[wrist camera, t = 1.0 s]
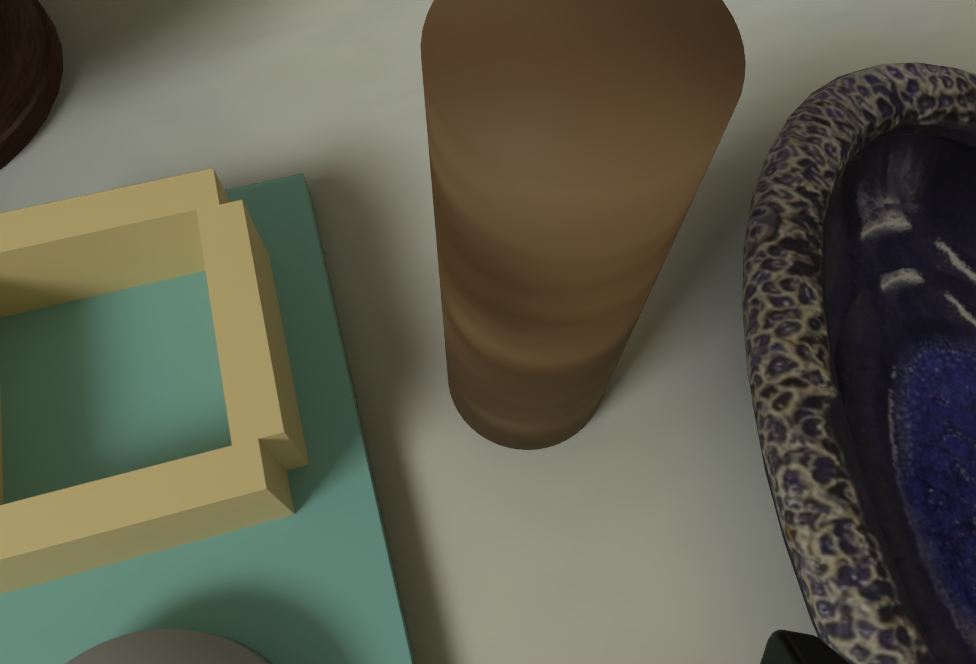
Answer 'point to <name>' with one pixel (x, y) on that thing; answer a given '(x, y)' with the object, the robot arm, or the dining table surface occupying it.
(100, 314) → the carrier plate
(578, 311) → the walnut dowel
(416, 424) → the dining table surface
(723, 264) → the dining table surface
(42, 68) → the black ball on stand
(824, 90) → the dish
